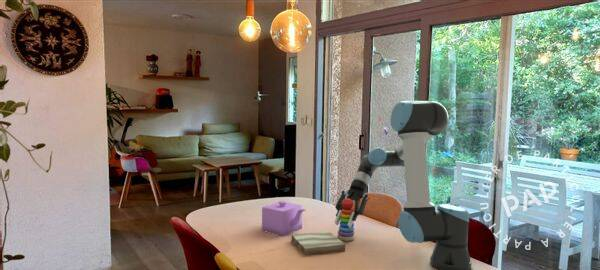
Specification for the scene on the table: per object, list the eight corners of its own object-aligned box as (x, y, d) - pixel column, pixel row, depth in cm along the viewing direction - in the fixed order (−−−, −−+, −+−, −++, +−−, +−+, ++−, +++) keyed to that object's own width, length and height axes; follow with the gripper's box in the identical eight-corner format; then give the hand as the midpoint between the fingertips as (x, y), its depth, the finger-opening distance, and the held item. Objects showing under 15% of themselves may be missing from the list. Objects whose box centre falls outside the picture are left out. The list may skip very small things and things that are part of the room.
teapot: (295, 239, 194) (296, 209, 193) (254, 229, 209) (254, 200, 207) (314, 231, 207) (314, 202, 205) (273, 222, 221) (274, 195, 220)
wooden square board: (345, 250, 181) (345, 243, 180) (305, 255, 175) (305, 248, 174) (328, 237, 198) (328, 231, 197) (291, 241, 192) (291, 234, 191)
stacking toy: (354, 242, 191) (355, 201, 190) (336, 240, 193) (337, 200, 191) (355, 236, 199) (356, 197, 197) (338, 235, 201) (339, 196, 199)
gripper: (380, 190, 201) (364, 233, 189) (345, 185, 212) (327, 225, 200) (376, 181, 196) (358, 224, 185) (340, 176, 207) (321, 216, 195)
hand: (342, 224), depth 192 cm, fingers closed on stacking toy, 6 cm apart
